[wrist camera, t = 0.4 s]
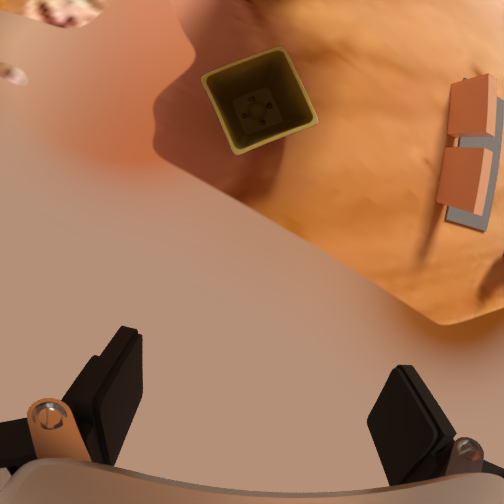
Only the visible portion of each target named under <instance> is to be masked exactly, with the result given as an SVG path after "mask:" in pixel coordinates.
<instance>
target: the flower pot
mask: <svg viewBox="0 0 504 504" xmlns="http://www.w3.org/2000/svg"><path fill="white" fill-rule="evenodd" d="M201 82H202V84H203V86H204V88H205V90H206V92H207V94H208V96H209V98H210V101H211V103H212V105H213V107H214V109H215V111H216V113H217V116H218V118H219V121H220V123H221V125H222V128H223V130H224V132H225V135H226V137H227V140H228V142H229V145H230V147H231V150H232V152H233V153H234V154H235V155H241V154H243V153H245V152H248V151H250V150H252V149H255V148H257V147H259V146H262V145H264V144H267V143H269V142H272V141H274V140H277V139H280V138H282V137H285V136H288V135H290V134H293V133H296V132H298V131H301V130H304V129H307V128H310V127H312V126H315V125H316V124H318V117H317V115H316V112H315V110H314V108H313V106H312V103H311V101H310V99H309V97H308V95H307V92H306V90H305V88H304V86H303V84H302V81H301V80H300V77H299V75H298V73H297V71H296V69H295V67H294V65H293V62H292V60H291V58H290V56H289V54H288V52H287V51H286V49H285V48H284V47H283V46H278V47H275V48H272V49H269V50H266V51H263V52H260V53H257V54H255V55H252V56H249V57H247V58H244V59H241V60H239V61H236V62H234V63H231V64H228V65H226V66H223V67H220V68H218V69H215V70H213V71H211V72H208V73H206V74H205V75H203V76H202V77H201ZM251 97H253V98H254V101H250V98H251ZM268 104H271V105H272V108H268V107H267V105H268ZM243 114H247V117H246V118H243ZM262 120H263V121H264V122H265V124H264V125H261V124H260V121H262Z"/></svg>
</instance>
